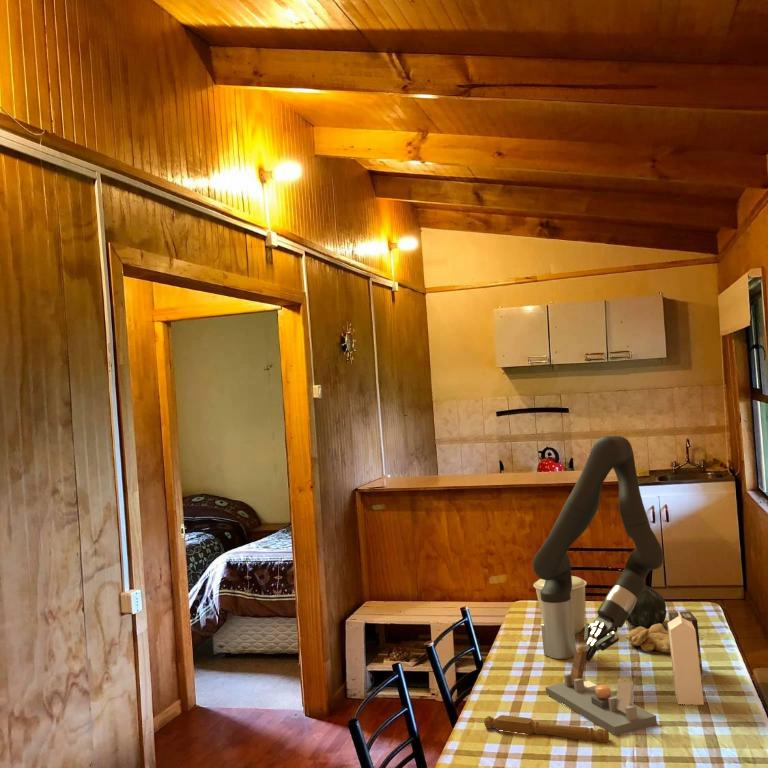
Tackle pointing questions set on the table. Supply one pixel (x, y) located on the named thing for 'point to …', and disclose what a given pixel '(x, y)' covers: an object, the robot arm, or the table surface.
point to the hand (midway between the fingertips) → (584, 659)
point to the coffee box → (693, 620)
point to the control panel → (596, 712)
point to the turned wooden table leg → (545, 728)
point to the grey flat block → (624, 695)
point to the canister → (576, 601)
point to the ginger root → (650, 638)
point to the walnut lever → (578, 663)
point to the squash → (648, 609)
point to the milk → (685, 662)
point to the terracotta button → (603, 691)
